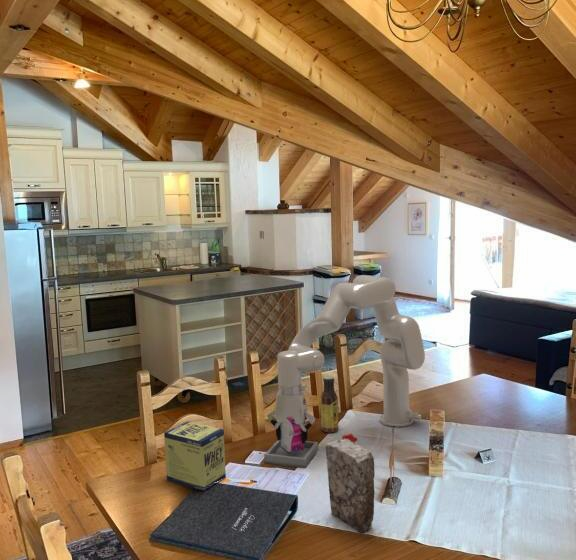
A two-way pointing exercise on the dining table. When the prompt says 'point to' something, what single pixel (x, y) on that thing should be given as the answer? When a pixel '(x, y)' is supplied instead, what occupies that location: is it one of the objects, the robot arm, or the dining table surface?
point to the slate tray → (291, 455)
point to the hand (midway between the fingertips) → (292, 440)
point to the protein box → (195, 454)
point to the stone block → (351, 483)
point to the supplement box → (291, 436)
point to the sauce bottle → (329, 406)
